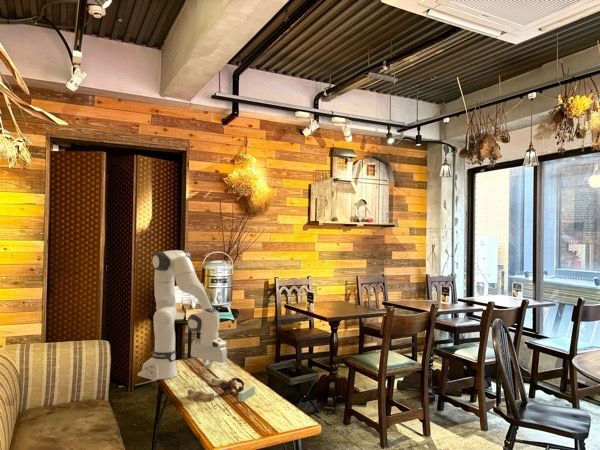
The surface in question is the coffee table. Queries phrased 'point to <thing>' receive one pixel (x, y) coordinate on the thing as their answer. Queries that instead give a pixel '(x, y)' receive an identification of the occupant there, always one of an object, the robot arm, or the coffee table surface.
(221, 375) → the coffee table surface
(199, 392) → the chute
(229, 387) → the broken brown clay pot
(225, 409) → the coffee table surface
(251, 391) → the block
